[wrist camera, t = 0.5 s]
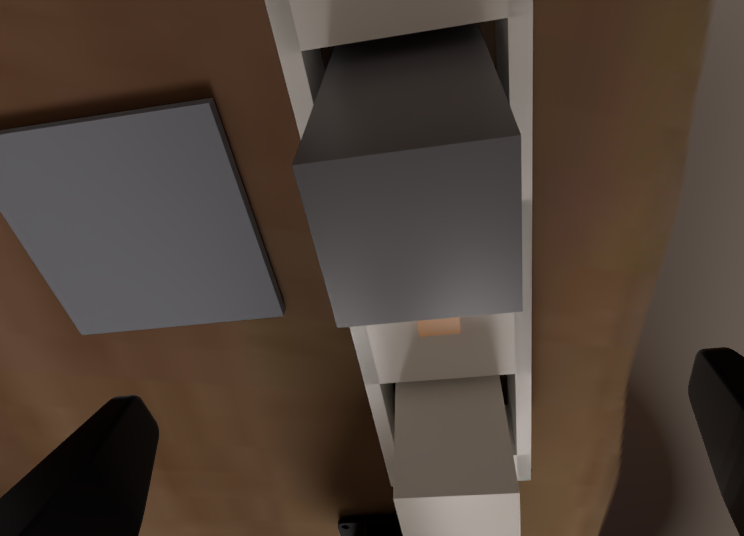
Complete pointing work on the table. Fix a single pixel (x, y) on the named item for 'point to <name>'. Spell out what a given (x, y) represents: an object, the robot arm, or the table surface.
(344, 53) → the grey rectangular block
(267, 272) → the slate mat
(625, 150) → the table surface
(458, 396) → the block
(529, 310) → the power strip
